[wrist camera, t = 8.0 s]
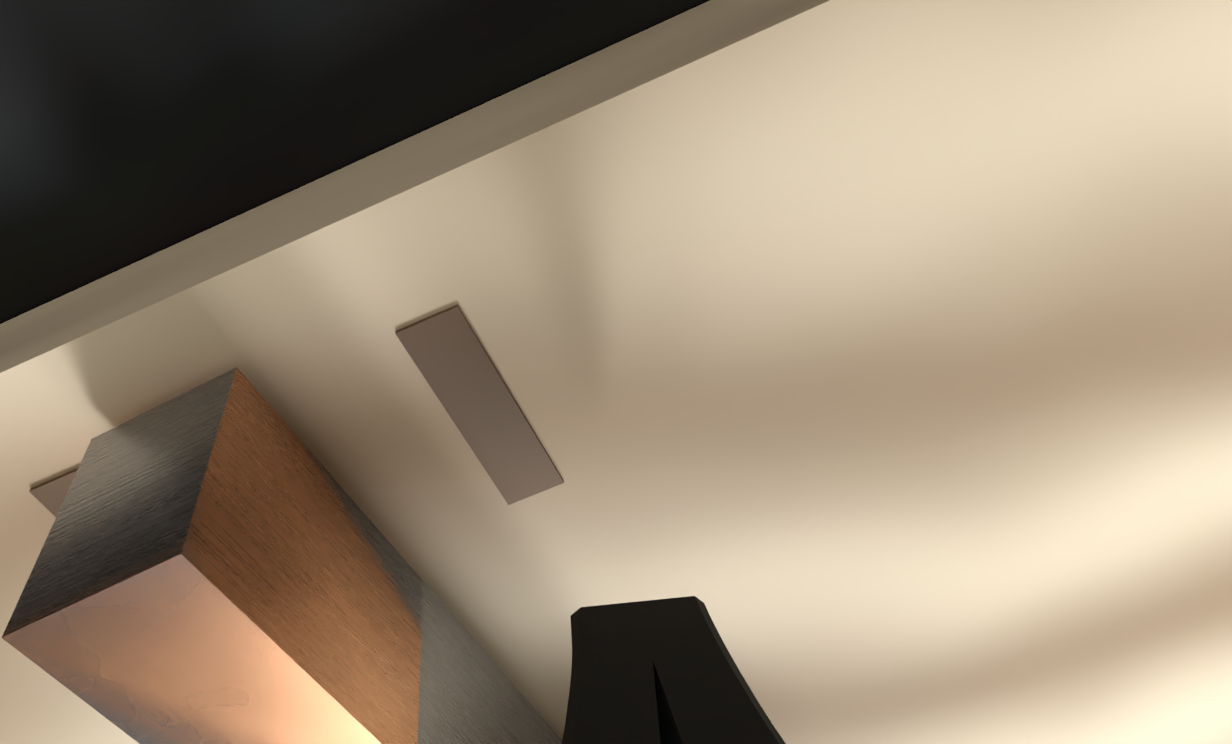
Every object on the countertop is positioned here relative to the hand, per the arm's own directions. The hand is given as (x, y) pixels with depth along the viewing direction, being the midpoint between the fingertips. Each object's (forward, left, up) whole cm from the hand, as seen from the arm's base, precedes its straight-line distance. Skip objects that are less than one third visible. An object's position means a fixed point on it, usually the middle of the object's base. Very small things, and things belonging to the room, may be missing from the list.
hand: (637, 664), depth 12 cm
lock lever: (-4, +4, -3) cm, 6 cm away
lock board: (-6, +2, -5) cm, 8 cm away
